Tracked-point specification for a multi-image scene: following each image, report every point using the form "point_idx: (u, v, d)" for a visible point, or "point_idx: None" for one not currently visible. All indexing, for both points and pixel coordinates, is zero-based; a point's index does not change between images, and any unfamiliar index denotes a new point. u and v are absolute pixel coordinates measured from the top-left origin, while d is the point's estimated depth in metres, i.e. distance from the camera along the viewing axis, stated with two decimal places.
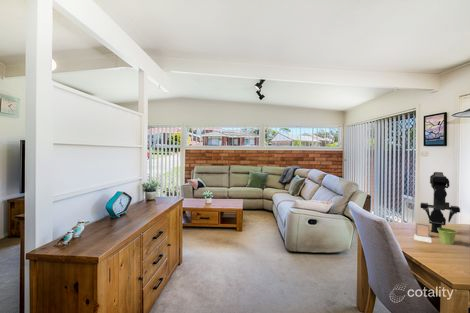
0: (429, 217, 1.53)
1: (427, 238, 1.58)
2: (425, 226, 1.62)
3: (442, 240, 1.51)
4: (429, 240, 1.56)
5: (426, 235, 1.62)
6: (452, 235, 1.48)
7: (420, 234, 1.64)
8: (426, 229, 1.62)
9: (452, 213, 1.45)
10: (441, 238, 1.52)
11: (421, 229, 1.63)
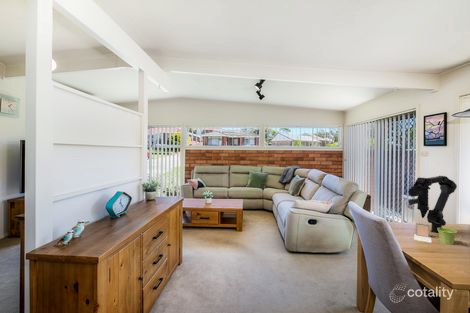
0: (421, 215, 1.70)
1: (427, 238, 1.58)
2: (425, 226, 1.62)
3: (442, 240, 1.51)
4: (429, 240, 1.56)
5: (426, 235, 1.62)
6: (452, 235, 1.48)
7: (420, 234, 1.64)
8: (426, 229, 1.62)
9: None
10: (441, 238, 1.52)
11: (421, 229, 1.63)
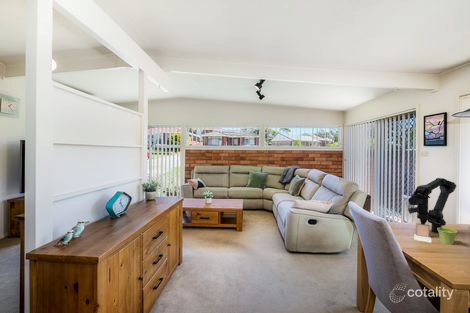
0: (421, 223, 1.70)
1: (427, 238, 1.58)
2: (425, 226, 1.62)
3: (442, 240, 1.51)
4: (429, 240, 1.56)
5: (426, 235, 1.62)
6: (452, 235, 1.48)
7: (420, 234, 1.64)
8: (426, 229, 1.62)
9: None
10: (441, 238, 1.52)
11: (421, 229, 1.63)
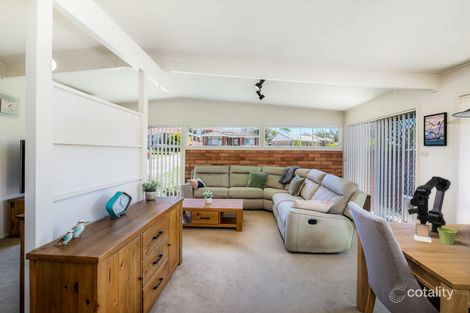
0: None
1: (427, 238, 1.58)
2: (425, 226, 1.62)
3: (442, 240, 1.51)
4: (429, 240, 1.56)
5: (426, 235, 1.62)
6: (452, 235, 1.48)
7: (420, 234, 1.64)
8: (426, 229, 1.61)
9: None
10: (441, 238, 1.52)
11: (421, 229, 1.63)
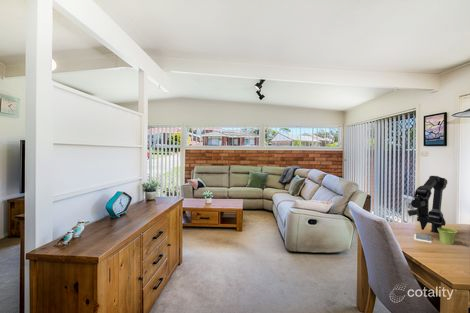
0: (421, 226, 1.63)
1: None
2: None
3: (442, 240, 1.51)
4: None
5: None
6: (452, 235, 1.48)
7: None
8: None
9: None
10: (441, 238, 1.52)
11: None
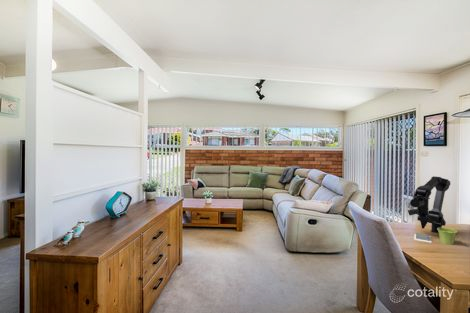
0: (421, 225, 1.66)
1: None
2: None
3: (442, 240, 1.51)
4: None
5: None
6: (452, 235, 1.48)
7: None
8: None
9: None
10: (441, 238, 1.52)
11: None
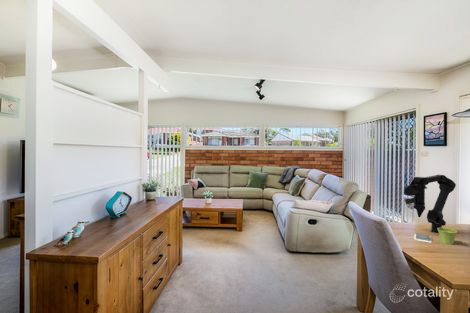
0: None
1: None
2: None
3: (442, 240, 1.51)
4: None
5: None
6: (452, 235, 1.48)
7: None
8: None
9: None
10: (441, 238, 1.52)
11: None
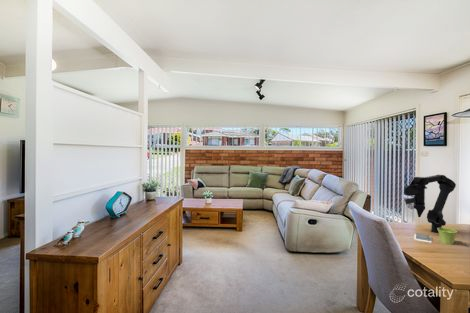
0: None
1: None
2: None
3: (442, 240, 1.51)
4: None
5: None
6: (452, 235, 1.48)
7: None
8: None
9: None
10: (441, 238, 1.52)
11: None
